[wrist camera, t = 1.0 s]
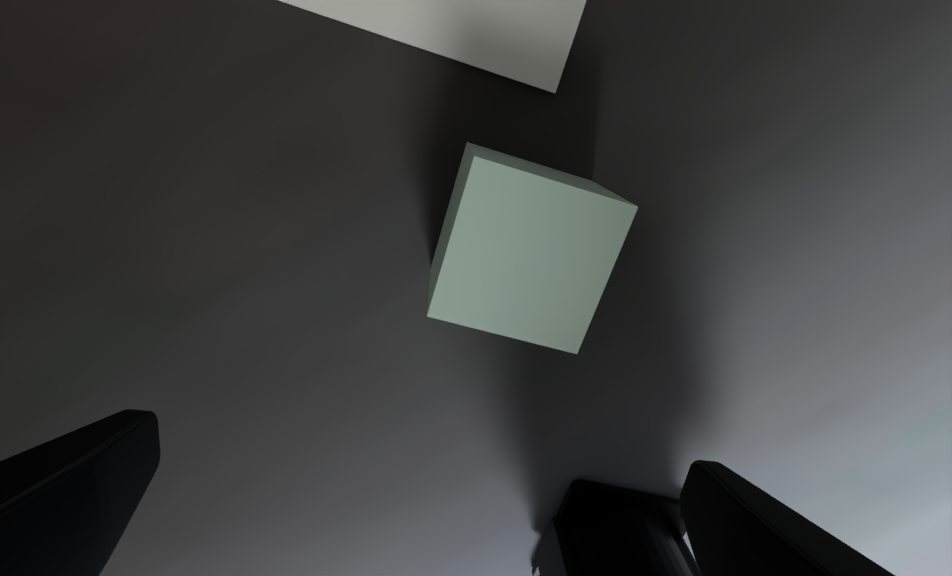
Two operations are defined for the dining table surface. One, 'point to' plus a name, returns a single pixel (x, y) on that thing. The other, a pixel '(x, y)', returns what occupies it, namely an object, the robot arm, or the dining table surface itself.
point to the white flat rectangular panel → (472, 31)
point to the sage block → (525, 250)
